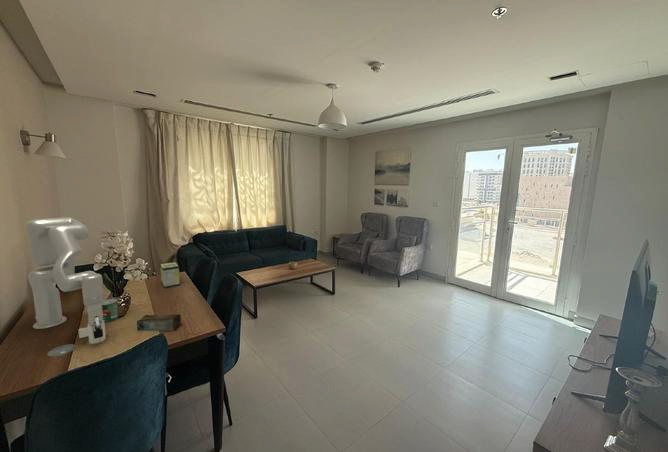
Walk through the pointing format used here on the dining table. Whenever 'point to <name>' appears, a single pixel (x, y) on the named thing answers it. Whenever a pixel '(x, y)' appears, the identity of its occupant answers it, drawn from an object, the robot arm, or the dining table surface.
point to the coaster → (61, 350)
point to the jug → (92, 333)
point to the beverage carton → (159, 322)
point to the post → (99, 342)
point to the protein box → (170, 275)
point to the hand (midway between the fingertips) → (97, 334)
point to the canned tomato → (110, 310)
